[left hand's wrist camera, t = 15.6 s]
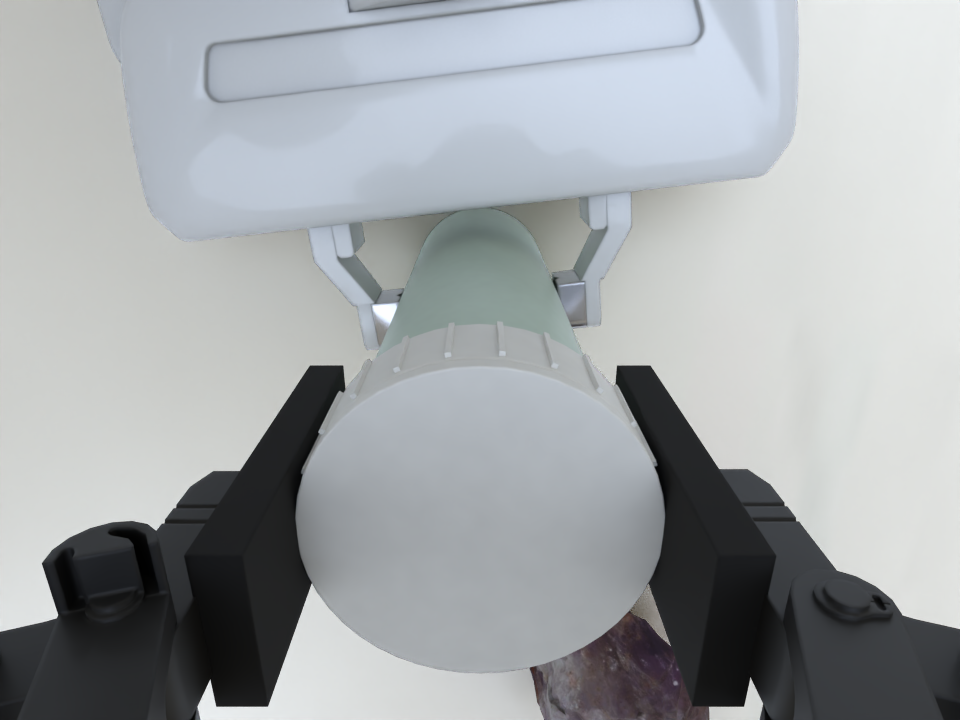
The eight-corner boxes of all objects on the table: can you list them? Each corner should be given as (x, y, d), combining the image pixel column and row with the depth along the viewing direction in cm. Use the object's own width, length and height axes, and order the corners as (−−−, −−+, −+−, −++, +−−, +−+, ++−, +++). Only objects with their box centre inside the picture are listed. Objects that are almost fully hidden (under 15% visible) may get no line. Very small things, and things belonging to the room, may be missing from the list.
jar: (502, 348, 30) (531, 680, 12) (397, 291, 29) (272, 568, 11) (565, 247, 28) (702, 470, 11) (456, 183, 27) (413, 315, 10)
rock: (528, 685, 39) (688, 648, 38) (544, 847, 32) (744, 809, 30) (464, 564, 33) (650, 514, 32) (465, 728, 26) (706, 673, 24)
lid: (532, 637, 14) (541, 721, 12) (269, 520, 13) (232, 592, 11) (706, 418, 12) (749, 477, 10) (411, 255, 11) (397, 286, 9)
